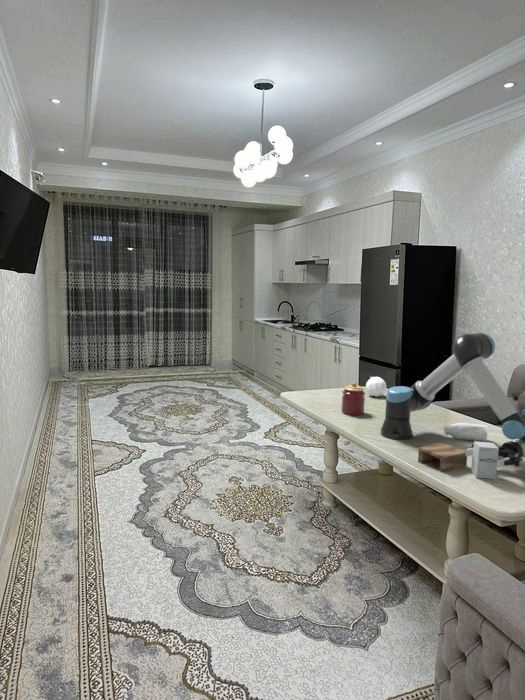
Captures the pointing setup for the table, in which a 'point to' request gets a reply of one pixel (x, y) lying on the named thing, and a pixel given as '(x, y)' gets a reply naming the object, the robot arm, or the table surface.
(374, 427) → the table surface
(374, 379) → the geodesic sphere
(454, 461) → the shelf
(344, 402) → the canister
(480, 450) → the supplement box
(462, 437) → the white bottle
